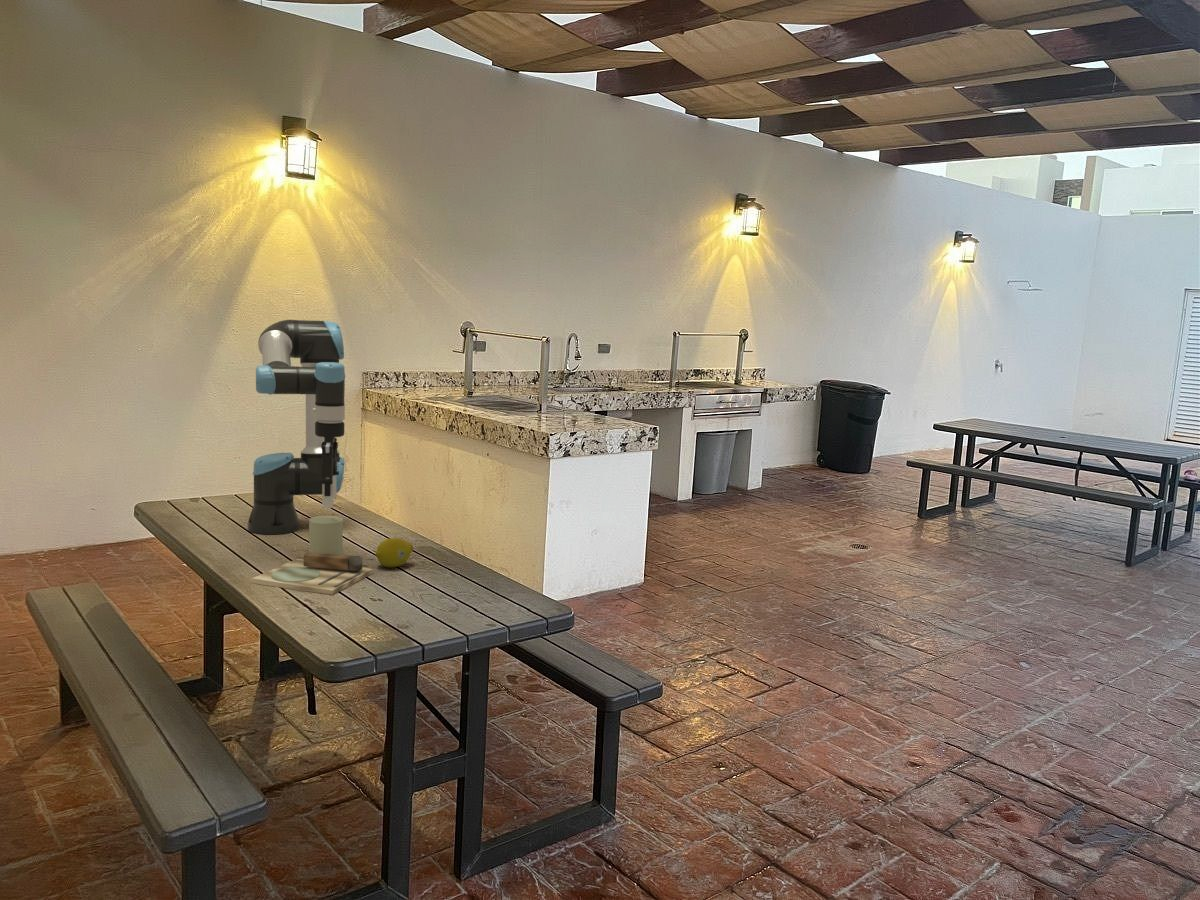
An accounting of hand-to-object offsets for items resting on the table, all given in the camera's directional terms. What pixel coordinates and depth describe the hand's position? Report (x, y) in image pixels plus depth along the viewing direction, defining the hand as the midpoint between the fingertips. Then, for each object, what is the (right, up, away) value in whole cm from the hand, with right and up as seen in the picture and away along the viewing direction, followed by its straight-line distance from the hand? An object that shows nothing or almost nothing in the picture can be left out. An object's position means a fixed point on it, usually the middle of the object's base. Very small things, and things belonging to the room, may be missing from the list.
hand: (329, 503), depth 247 cm
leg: (+2, -17, -4) cm, 17 cm away
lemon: (+16, -18, +6) cm, 25 cm away
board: (-2, -19, -8) cm, 21 cm away
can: (-4, -16, +9) cm, 19 cm away
